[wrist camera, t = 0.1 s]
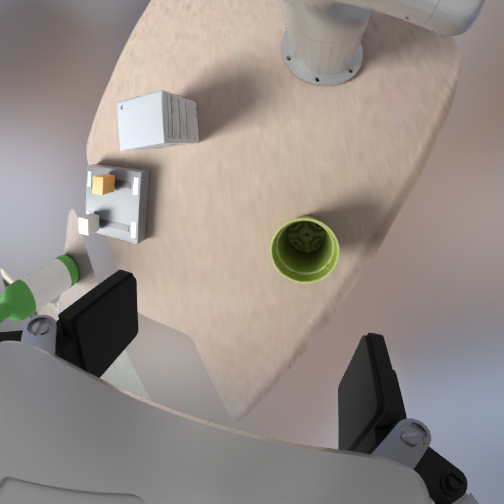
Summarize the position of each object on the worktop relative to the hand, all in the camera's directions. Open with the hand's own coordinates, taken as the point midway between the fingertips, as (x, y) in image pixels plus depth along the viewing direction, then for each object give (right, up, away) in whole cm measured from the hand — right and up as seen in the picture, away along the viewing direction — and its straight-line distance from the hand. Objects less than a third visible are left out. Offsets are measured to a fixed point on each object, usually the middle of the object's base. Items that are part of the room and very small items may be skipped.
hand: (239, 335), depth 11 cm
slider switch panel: (-25, +13, +40) cm, 49 cm away
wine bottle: (-43, -1, +50) cm, 66 cm away
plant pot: (+9, +6, +36) cm, 38 cm away
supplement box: (-12, +24, +34) cm, 43 cm away
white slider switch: (-30, +9, +39) cm, 50 cm away
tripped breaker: (-25, +16, +36) cm, 46 cm away
